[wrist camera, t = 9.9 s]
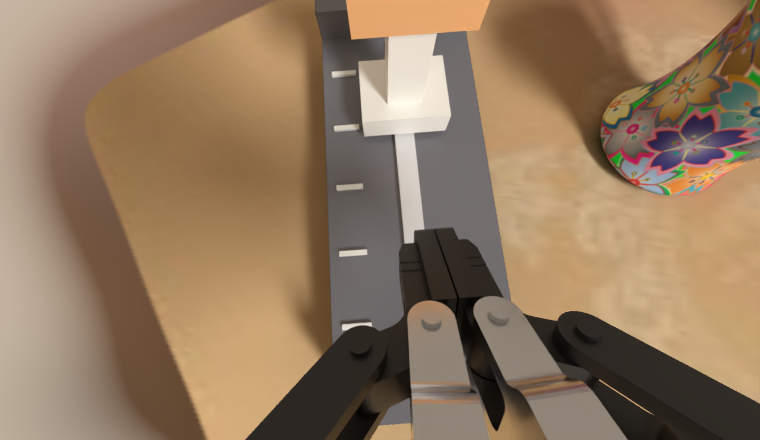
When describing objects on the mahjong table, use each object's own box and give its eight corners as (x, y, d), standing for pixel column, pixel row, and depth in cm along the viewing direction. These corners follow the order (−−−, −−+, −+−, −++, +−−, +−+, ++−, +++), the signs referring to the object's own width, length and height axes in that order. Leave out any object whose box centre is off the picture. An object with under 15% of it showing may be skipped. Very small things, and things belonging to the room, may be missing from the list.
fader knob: (445, 130, 17) (517, -49, 8) (364, 136, 17) (339, -36, 8) (437, 74, 18) (494, -148, 9) (360, 80, 18) (334, -136, 9)
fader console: (502, 375, 17) (548, 412, 13) (343, 387, 17) (326, 429, 13) (453, 50, 23) (472, -13, 18) (330, 60, 23) (314, -1, 18)
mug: (703, 226, 19) (1075, 162, 9) (570, 174, 20) (767, 62, 10) (733, 86, 22) (1059, -95, 11) (613, 46, 22) (809, -156, 12)
